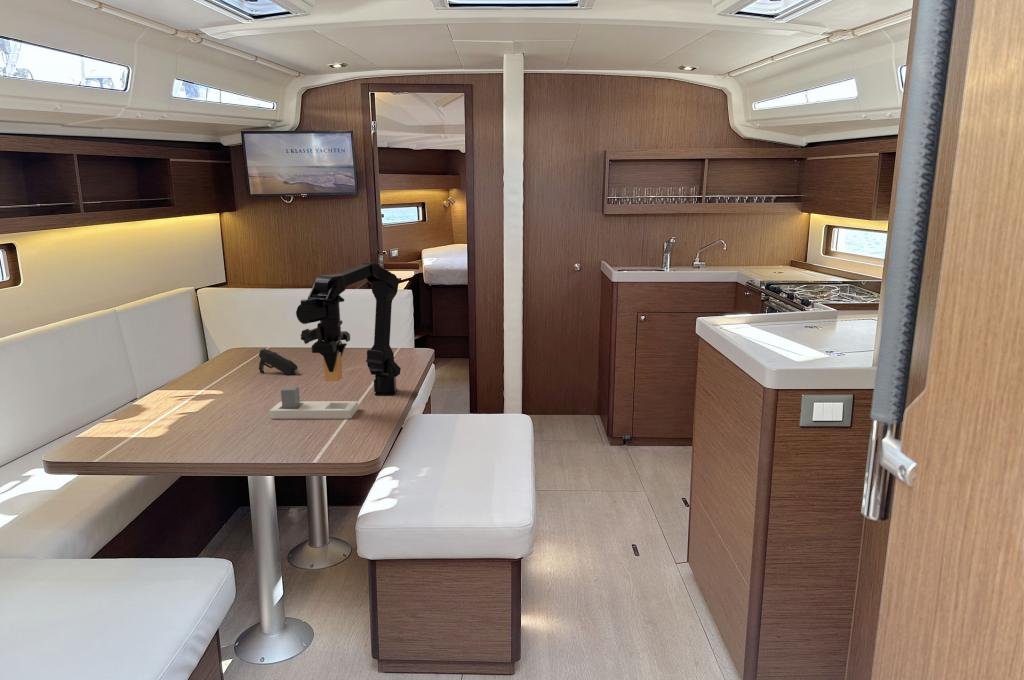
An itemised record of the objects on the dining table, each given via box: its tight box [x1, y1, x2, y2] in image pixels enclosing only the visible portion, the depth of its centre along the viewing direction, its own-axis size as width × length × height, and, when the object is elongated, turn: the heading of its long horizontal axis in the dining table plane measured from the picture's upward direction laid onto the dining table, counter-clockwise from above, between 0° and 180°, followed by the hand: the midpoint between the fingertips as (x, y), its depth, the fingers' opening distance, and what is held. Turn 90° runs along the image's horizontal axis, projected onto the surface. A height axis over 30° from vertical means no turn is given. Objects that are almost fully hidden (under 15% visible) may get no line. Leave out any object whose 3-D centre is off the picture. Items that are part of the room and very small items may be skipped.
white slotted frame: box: [268, 400, 359, 420], centre depth 207 cm, size 24×9×2 cm, turn 88°
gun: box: [258, 348, 300, 376], centre depth 253 cm, size 3×16×10 cm, turn 79°
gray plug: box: [280, 385, 301, 409], centre depth 206 cm, size 4×4×8 cm
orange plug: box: [323, 352, 343, 382], centre depth 205 cm, size 4×4×8 cm
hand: (333, 370), depth 206 cm, fingers closed on orange plug, 4 cm apart
